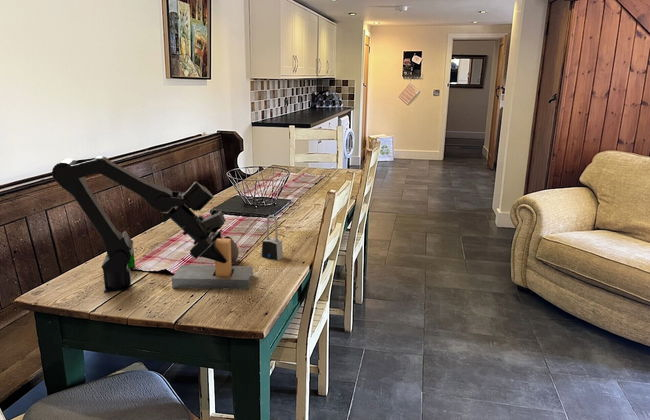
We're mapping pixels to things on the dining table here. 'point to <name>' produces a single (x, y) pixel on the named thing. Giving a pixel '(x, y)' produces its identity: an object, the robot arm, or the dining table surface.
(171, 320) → the dining table surface
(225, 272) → the peg
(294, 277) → the dining table surface
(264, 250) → the padlock
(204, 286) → the rail
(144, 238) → the dining table surface
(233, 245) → the vase
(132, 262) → the rubik's cube
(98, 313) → the dining table surface
